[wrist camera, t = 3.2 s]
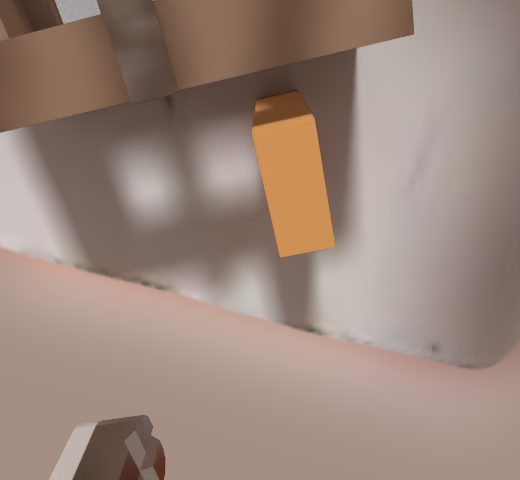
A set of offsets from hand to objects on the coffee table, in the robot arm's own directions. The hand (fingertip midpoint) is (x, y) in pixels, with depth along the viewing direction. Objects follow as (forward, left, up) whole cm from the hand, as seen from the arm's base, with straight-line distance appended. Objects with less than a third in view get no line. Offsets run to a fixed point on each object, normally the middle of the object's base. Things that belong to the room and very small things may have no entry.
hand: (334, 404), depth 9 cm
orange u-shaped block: (0, 0, -25) cm, 25 cm away
